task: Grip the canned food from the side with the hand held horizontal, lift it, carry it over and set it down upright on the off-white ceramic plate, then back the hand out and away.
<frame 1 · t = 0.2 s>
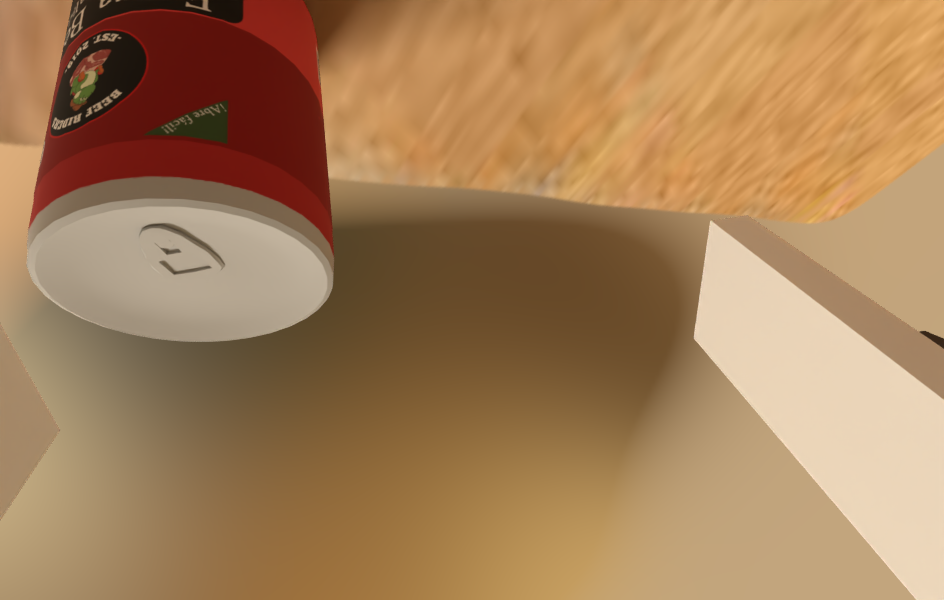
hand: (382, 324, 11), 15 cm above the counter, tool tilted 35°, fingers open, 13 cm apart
canned food: (206, 15, 21), on the counter
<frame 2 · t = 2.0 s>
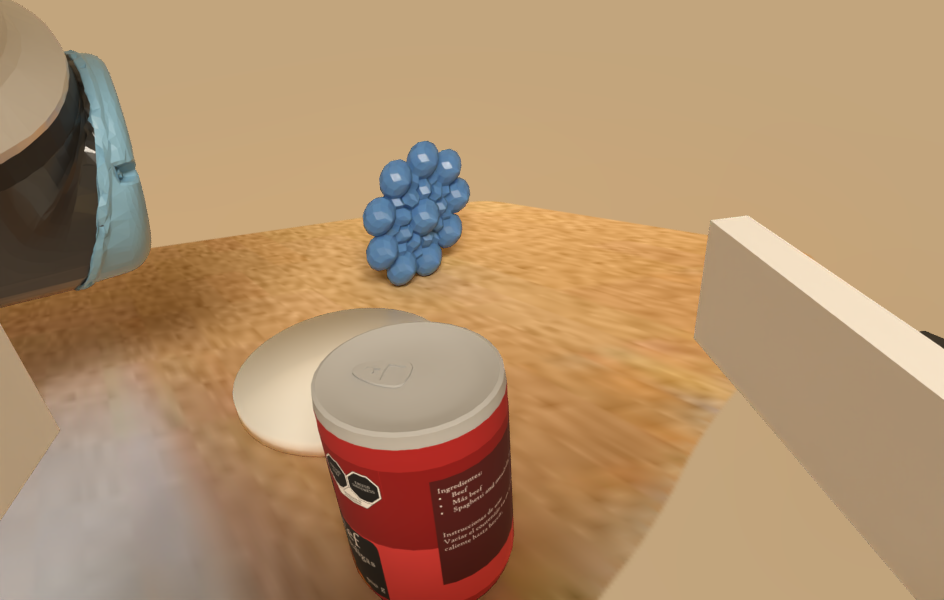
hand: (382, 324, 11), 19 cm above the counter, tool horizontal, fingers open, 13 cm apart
canned food: (435, 548, 30), on the counter
grapes: (420, 273, 55), on the counter
plate: (348, 378, 42), on the counter
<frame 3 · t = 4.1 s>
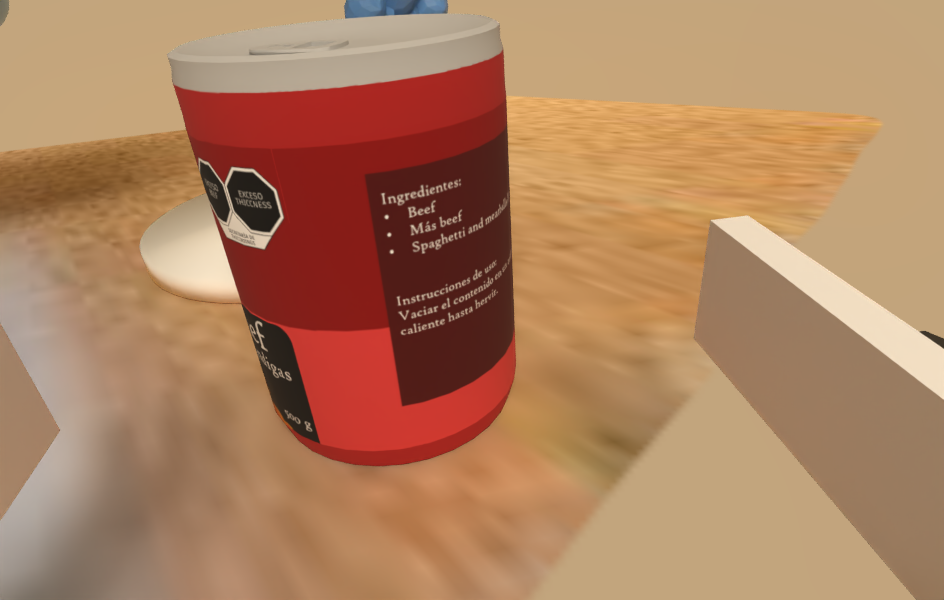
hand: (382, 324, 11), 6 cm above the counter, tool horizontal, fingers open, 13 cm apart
canned food: (398, 393, 20), on the counter
grapes: (399, 149, 46), on the counter
plate: (298, 232, 32), on the counter
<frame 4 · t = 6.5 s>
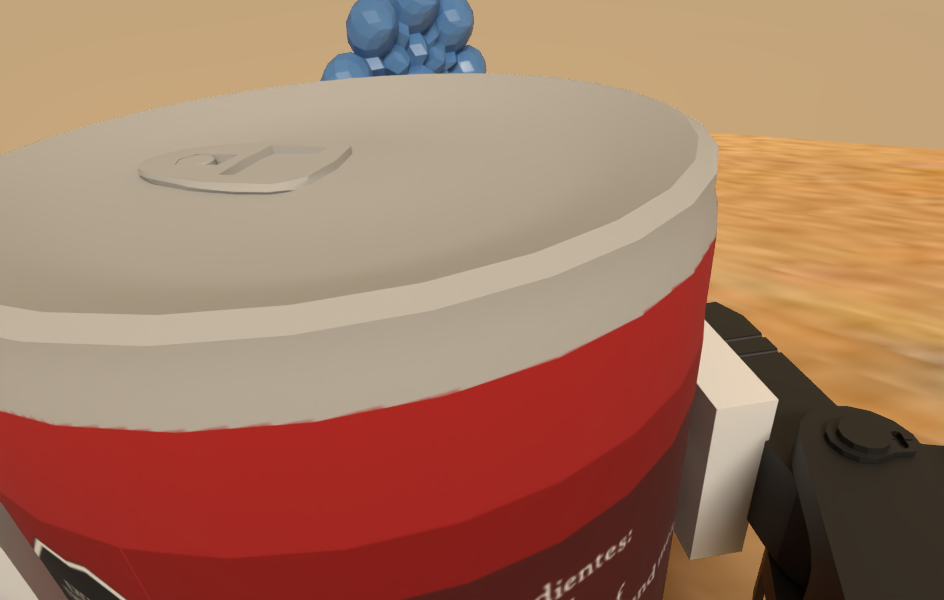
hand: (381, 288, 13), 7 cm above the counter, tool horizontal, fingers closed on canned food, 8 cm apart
grapes: (412, 192, 38), on the counter
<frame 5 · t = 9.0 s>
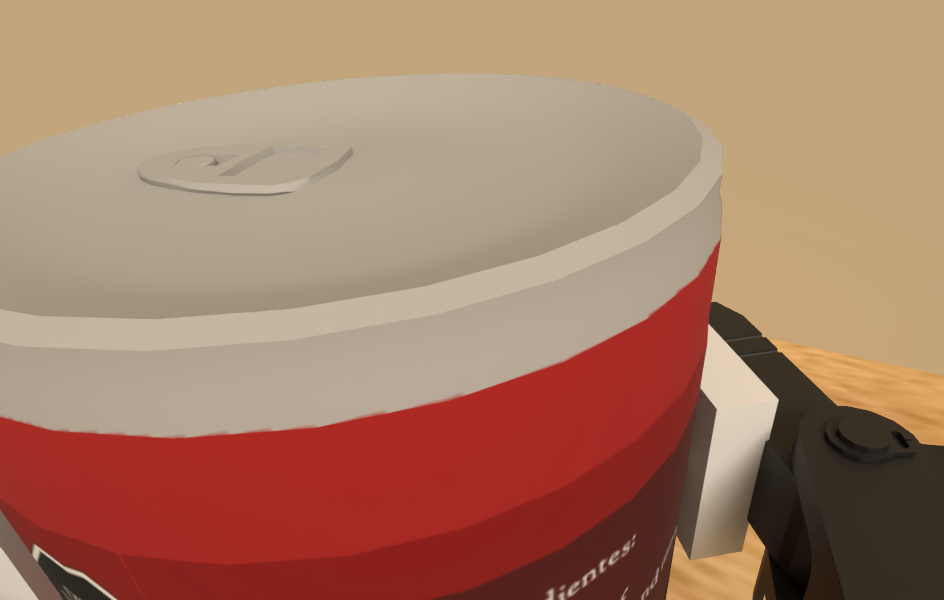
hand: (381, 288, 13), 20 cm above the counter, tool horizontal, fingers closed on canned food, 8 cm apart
when the fingers open (9 cm above the counter, at t = 11.9 s): canned food drops 2 cm, resting on plate.
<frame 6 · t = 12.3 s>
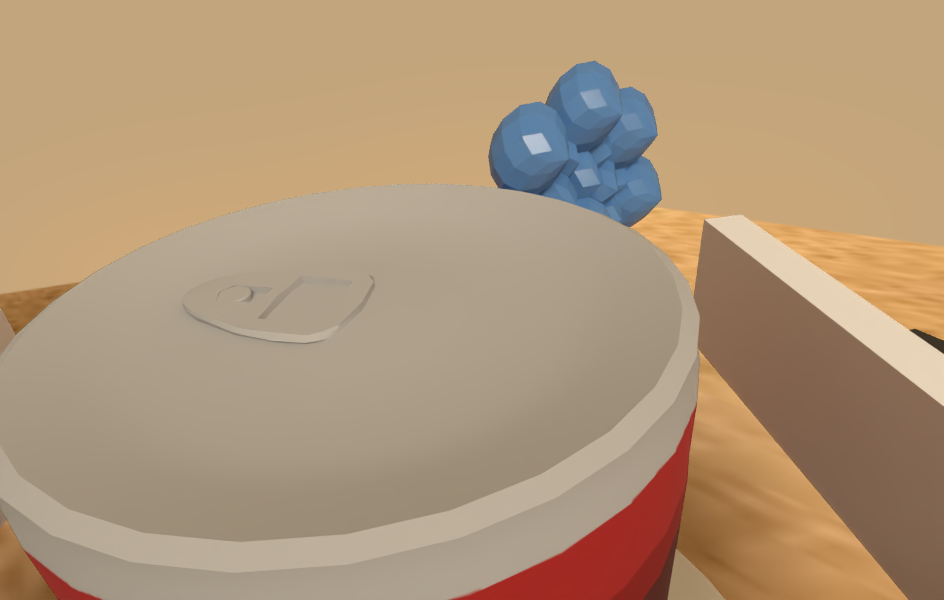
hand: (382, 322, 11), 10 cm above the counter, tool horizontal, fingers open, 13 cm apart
grapes: (545, 352, 27), on the counter
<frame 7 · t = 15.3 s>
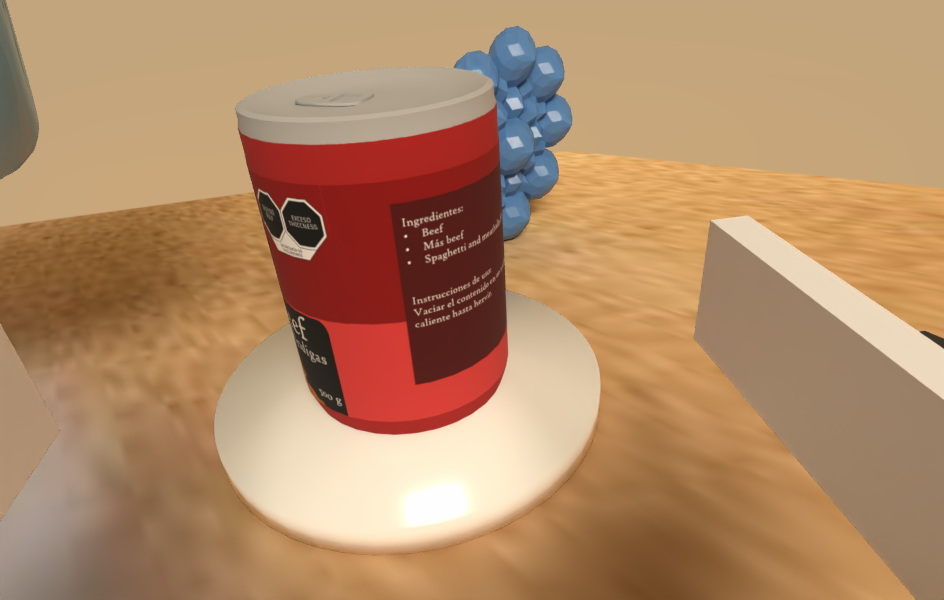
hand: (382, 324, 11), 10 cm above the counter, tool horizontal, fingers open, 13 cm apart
canned food: (410, 378, 24), point 1 cm above the counter, touching plate
grapes: (495, 237, 38), on the counter
plate: (413, 395, 24), on the counter
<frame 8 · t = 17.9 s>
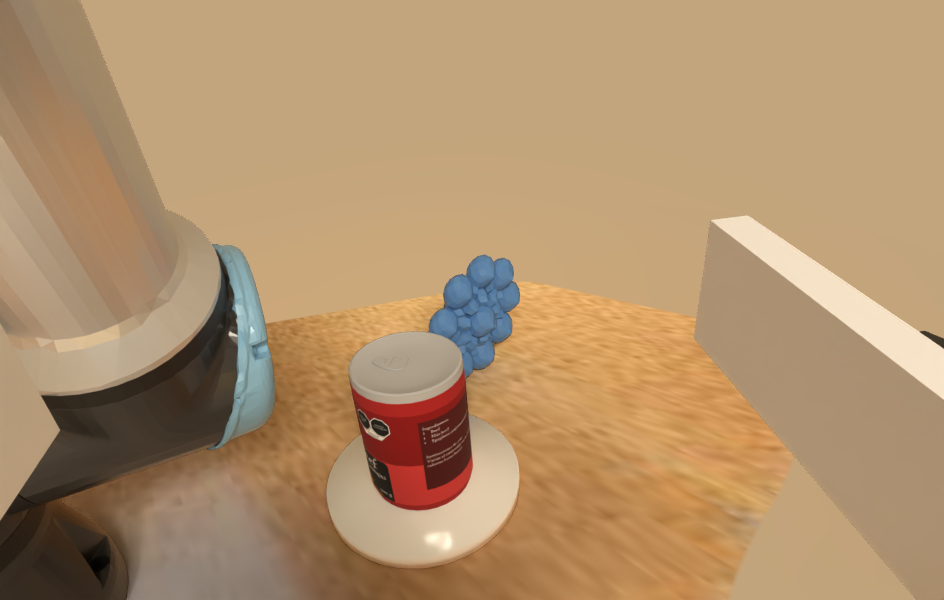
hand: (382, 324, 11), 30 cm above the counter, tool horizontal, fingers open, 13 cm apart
canned food: (423, 476, 46), point 1 cm above the counter, touching plate
grapes: (473, 365, 60), on the counter
plate: (424, 484, 47), on the counter
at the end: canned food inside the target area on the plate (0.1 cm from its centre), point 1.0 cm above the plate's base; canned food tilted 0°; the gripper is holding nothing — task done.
